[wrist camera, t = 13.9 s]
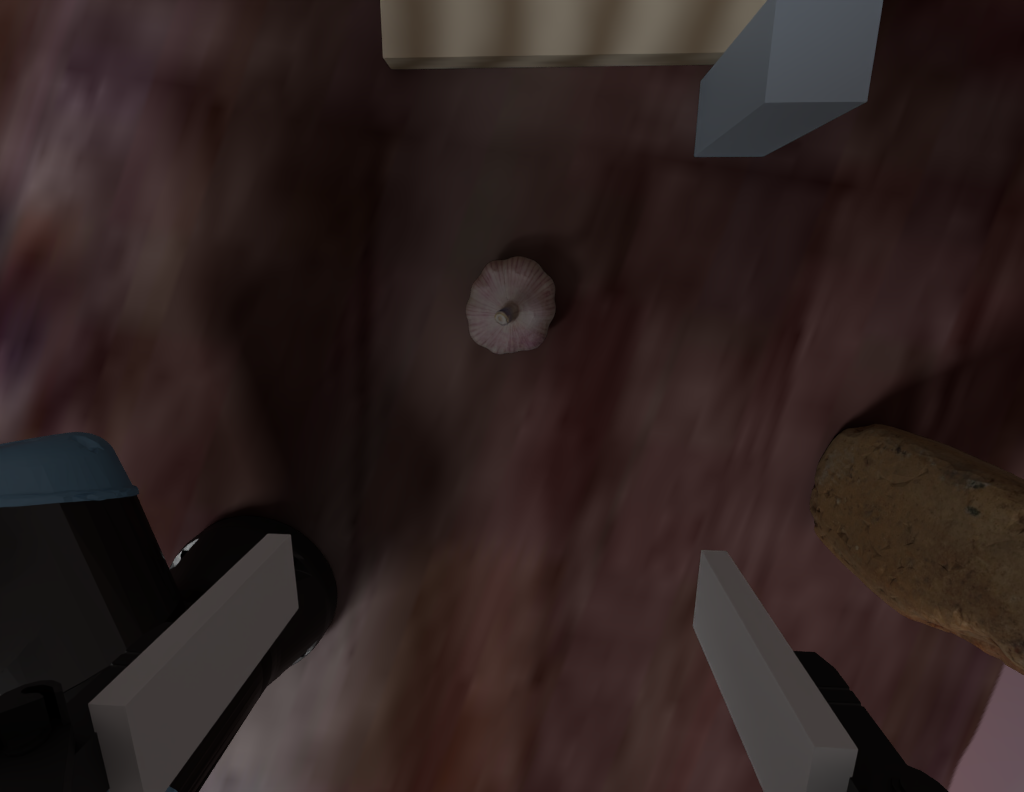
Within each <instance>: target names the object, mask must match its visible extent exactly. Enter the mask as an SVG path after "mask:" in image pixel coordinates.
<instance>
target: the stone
mask: <svg viewBox="0 0 1024 792" xmlns="http://www.w3.org/2000/svg"><path fill="white" fill-rule="evenodd" d="M810 511H811V513H812V515H813V517H814V520H815V521H814V523H815V527H814V530H815V532H816V534H817V536H818V537H819V538H820V540H821V541H822V542H823V543H824V544H825V546H826V547H827V548H828V549H829V550H830V551H831V552H832V553H833V554H834V555H835V556H836V557H837V558H838V559H839V560H840V561H841V562H842V563H843V564H844V565H845V566H846V567H847V568H848V569H849V570H850V571H851V572H853V573H854V574H855V575H856V576H857V577H858V578H859V579H860V580H861V581H862V582H863V583H864V584H865V585H866V586H867V587H868V588H869V589H870V590H872V591H873V592H874V593H875V594H876V595H877V596H879V597H880V598H881V599H882V600H883V601H884V602H886V603H887V604H888V605H889V606H891V607H892V608H893V609H895V610H896V611H897V612H899V613H900V614H901V615H903V616H905V617H907V618H909V619H911V620H914V621H919V622H922V623H924V624H927V625H929V626H932V627H935V628H938V629H940V630H943V631H946V632H952V633H954V634H955V635H957V636H959V637H961V638H963V639H965V640H966V641H968V642H970V643H972V644H974V645H975V646H977V647H978V648H979V649H981V650H982V651H984V652H985V653H987V654H990V655H992V656H994V657H996V658H998V659H1001V660H1002V661H1003V662H1004V663H1005V665H1007V666H1009V667H1011V668H1012V669H1014V670H1016V671H1018V672H1019V673H1021V674H1022V675H1024V479H1022V478H1019V477H1017V476H1015V475H1014V474H1012V473H1009V472H1007V471H1005V470H1003V469H1001V468H999V467H996V466H994V465H992V464H990V463H987V462H985V461H983V460H980V459H978V458H976V457H974V456H971V455H969V454H967V453H964V452H962V451H960V450H958V449H955V448H953V447H951V446H948V445H946V444H943V443H940V442H937V441H934V440H931V439H928V438H925V437H922V436H919V435H916V434H913V433H910V432H907V431H904V430H900V429H897V428H894V427H891V426H886V425H882V424H872V425H869V426H866V427H858V428H848V429H846V430H843V431H842V432H841V433H839V434H838V435H837V436H836V437H835V439H834V440H833V441H832V442H831V443H830V445H829V446H828V448H827V450H826V451H825V453H824V455H823V456H822V458H821V460H820V462H819V464H818V467H817V471H816V475H815V487H814V488H813V489H812V494H811V499H810Z"/></svg>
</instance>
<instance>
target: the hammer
mask: <svg viewBox="0 0 1024 792" xmlns="http://www.w3.org/2000/svg"><path fill="white" fill-rule="evenodd" d="M882 5H883V0H767V1H766V3H765V4H764V5H763V6H762V7H761V9H760V10H759V11H758V12H757V13H756V15H755V16H754V17H753V18H752V20H751V21H750V22H749V23H748V24H747V26H746V27H745V28H744V29H743V30H742V32H741V33H740V34H739V35H738V37H737V38H736V39H735V40H734V41H733V43H732V44H731V45H730V46H729V47H728V49H727V50H726V51H725V52H724V53H723V55H722V56H721V57H720V58H719V60H718V61H717V62H716V63H715V64H714V66H713V67H712V68H711V69H710V70H709V72H708V73H707V74H706V75H705V77H704V78H703V79H702V80H701V83H700V95H699V106H698V118H697V129H696V141H695V152H694V157H764V156H766V155H767V154H769V153H771V152H773V151H775V150H777V149H779V148H781V147H782V146H784V145H786V144H788V143H790V142H792V141H794V140H796V139H798V138H799V137H801V136H803V135H805V134H807V133H809V132H811V131H813V130H815V129H816V128H818V127H820V126H822V125H824V124H826V123H828V122H830V121H831V120H833V119H835V118H837V117H839V116H841V115H843V114H845V113H847V112H848V111H850V110H852V109H854V108H856V107H858V106H860V105H862V104H864V103H865V102H867V99H868V92H869V86H870V80H871V74H872V67H873V61H874V55H875V49H876V42H877V36H878V30H879V23H880V17H881V11H882Z"/></svg>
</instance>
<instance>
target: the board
mask: <svg viewBox="0 0 1024 792" xmlns="http://www.w3.org/2000/svg"><path fill="white" fill-rule="evenodd" d="M766 1H767V0H380V8H381V29H382V49H383V59H384V60H385V61H386V63H387V64H388V65H389V67H390V68H391V69H449V68H517V67H585V66H653V65H714V64H715V63H716V62H717V61H718V60H719V58H720V57H721V56H722V55H723V53H724V52H725V51H726V50H727V49H728V47H729V46H730V45H731V44H732V43H733V41H734V40H735V39H736V38H737V37H738V35H739V34H740V33H741V32H742V30H743V29H744V28H745V27H746V26H747V24H748V23H749V22H750V21H751V20H752V18H753V17H754V16H755V15H756V13H757V12H758V11H759V10H760V9H761V7H762V6H763V5H764V4H765V3H766Z"/></svg>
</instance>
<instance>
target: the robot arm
mask: <svg viewBox="0 0 1024 792" xmlns="http://www.w3.org/2000/svg"><path fill="white" fill-rule="evenodd" d="M137 494H139V490H138V488H137V487H136V486H134V485H132V484H131V482H130V480H129V478H128V476H127V474H126V472H125V470H124V468H123V466H122V464H121V463H120V461H119V459H118V457H117V455H116V453H115V451H114V449H113V448H112V447H111V445H110V444H109V443H108V442H107V441H105V440H104V439H102V438H101V437H99V436H96V435H93V434H90V433H83V432H71V433H63V434H56V435H50V436H44V437H38V438H32V439H26V440H20V441H15V442H9V443H4V444H0V792H199V791H200V789H201V787H202V786H203V784H204V783H205V781H206V780H207V778H208V777H209V775H210V773H211V772H212V770H213V769H214V767H215V766H216V764H217V763H218V761H219V759H220V758H221V756H222V755H223V753H224V752H225V750H226V749H227V747H228V745H229V744H230V742H231V741H232V739H233V738H234V736H235V735H236V733H237V731H238V730H239V728H240V727H241V725H242V724H243V722H244V721H245V719H246V718H247V716H248V714H249V713H250V711H251V710H252V708H253V707H254V705H255V704H256V702H257V701H258V699H259V698H260V696H261V695H262V693H263V692H264V690H265V688H266V687H267V686H268V685H269V684H271V683H272V682H273V681H274V680H275V679H277V678H278V677H279V676H280V675H281V674H282V673H283V672H284V671H285V670H286V669H288V668H289V667H290V666H292V665H294V664H296V663H297V662H299V661H300V660H301V659H303V658H304V657H305V656H307V655H308V654H309V653H310V652H311V651H312V650H313V649H314V648H315V646H316V645H317V644H318V643H319V641H320V640H321V638H322V636H323V635H324V633H325V632H326V630H327V628H328V627H329V625H330V623H331V621H332V619H333V616H334V613H335V610H336V604H337V590H336V583H335V579H334V576H333V573H332V571H331V568H330V566H329V564H328V563H327V561H326V559H325V558H324V556H323V555H322V553H321V552H320V551H319V550H318V548H317V547H316V546H315V545H314V544H313V543H312V542H311V541H310V540H309V539H307V538H306V537H305V536H304V535H302V534H301V533H299V532H298V531H296V530H295V529H293V528H291V527H289V526H287V525H285V524H283V523H281V522H278V521H275V520H272V519H268V518H263V517H256V516H239V517H232V518H228V519H225V520H222V521H219V522H217V523H215V524H213V525H211V526H209V527H208V528H206V529H205V530H204V531H202V532H201V533H200V534H198V535H197V536H196V537H195V538H193V539H192V540H191V541H189V542H188V543H187V544H186V545H185V546H184V547H183V548H182V550H181V551H180V552H179V553H178V555H177V556H176V558H175V559H174V561H173V563H172V565H171V567H170V569H169V567H168V565H167V563H166V561H165V558H164V556H163V554H162V551H161V549H160V547H159V545H158V542H157V540H156V538H155V536H154V533H153V531H152V529H151V527H150V524H149V522H148V520H147V517H146V515H145V513H144V511H143V508H142V506H141V504H140V501H139V499H138V497H137ZM693 628H694V630H695V632H696V635H697V637H698V639H699V642H700V644H701V646H702V649H703V651H704V653H705V656H706V658H707V660H708V663H709V665H710V667H711V670H712V672H713V674H714V677H715V679H716V681H717V684H718V686H719V688H720V691H721V693H722V695H723V698H724V700H725V702H726V705H727V707H728V709H729V712H730V714H731V716H732V719H733V721H734V724H735V726H736V728H737V731H738V733H739V735H740V738H741V740H742V742H743V745H744V747H745V749H746V752H747V754H748V756H749V759H750V761H751V763H752V766H753V768H754V770H755V773H756V775H757V777H758V780H759V782H760V784H761V787H762V789H763V791H764V792H948V791H947V790H946V789H945V788H944V787H943V786H942V785H941V784H940V783H939V782H937V781H936V780H934V779H933V778H931V777H930V776H928V775H927V774H925V773H924V772H922V771H920V770H918V769H915V768H913V767H910V766H908V765H907V764H906V763H905V762H904V760H903V759H902V758H901V756H900V755H899V754H898V752H897V751H896V750H895V748H894V747H893V746H892V744H891V743H890V742H889V740H888V739H887V738H886V736H885V735H884V733H883V732H882V731H881V729H880V728H879V727H878V725H877V724H876V723H875V721H874V720H873V719H872V717H871V716H870V715H869V713H868V712H867V711H866V709H865V708H864V707H862V706H861V702H860V701H859V700H858V698H857V697H856V696H855V694H854V693H853V692H852V691H850V690H849V686H848V685H847V684H846V682H845V681H844V680H843V678H842V677H841V676H840V674H839V673H838V672H837V670H836V669H835V668H834V667H833V666H831V665H830V664H829V663H828V662H826V661H825V660H824V659H823V658H822V657H820V656H819V655H818V654H817V653H815V652H802V651H793V650H792V649H791V647H790V646H789V644H788V643H787V641H786V640H785V638H784V637H783V635H782V634H781V632H780V631H779V629H778V628H777V626H776V625H775V623H774V622H773V620H772V619H771V617H770V616H769V614H768V613H767V611H766V610H765V608H764V607H763V605H762V604H761V602H760V601H759V599H758V598H757V596H756V595H755V593H754V592H753V590H752V589H751V587H750V586H749V584H748V583H747V581H746V580H745V578H744V577H743V575H742V574H741V572H740V571H739V569H738V568H737V566H736V565H735V563H734V562H733V560H732V559H731V557H730V556H729V554H728V553H727V551H710V550H701V558H700V567H699V576H698V585H697V594H696V603H695V612H694V622H693Z"/></svg>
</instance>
